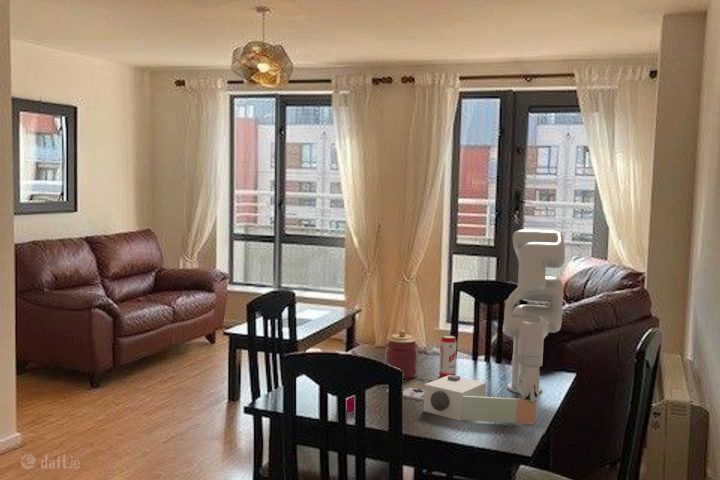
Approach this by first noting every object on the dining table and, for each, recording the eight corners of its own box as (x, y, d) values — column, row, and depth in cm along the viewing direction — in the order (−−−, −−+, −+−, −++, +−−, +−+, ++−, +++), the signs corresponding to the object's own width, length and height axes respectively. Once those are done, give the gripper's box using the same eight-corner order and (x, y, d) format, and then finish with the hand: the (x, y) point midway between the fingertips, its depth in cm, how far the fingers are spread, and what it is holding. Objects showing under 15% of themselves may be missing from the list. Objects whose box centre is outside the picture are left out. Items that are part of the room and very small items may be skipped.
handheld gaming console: (410, 386, 254) (448, 393, 246) (409, 390, 254) (448, 397, 247) (398, 393, 245) (437, 400, 238) (397, 397, 245) (437, 405, 238)
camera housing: (448, 400, 242) (449, 372, 241) (484, 409, 233) (486, 379, 233) (420, 412, 228) (422, 382, 227) (458, 422, 219) (459, 390, 219)
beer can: (457, 376, 273) (459, 336, 272) (451, 380, 268) (452, 339, 267) (443, 374, 276) (444, 334, 275) (436, 377, 271) (437, 336, 270)
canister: (412, 380, 265) (414, 335, 264) (380, 376, 269) (381, 331, 268) (420, 372, 277) (422, 328, 276) (389, 369, 282) (390, 325, 280)
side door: (534, 423, 219) (536, 399, 218) (535, 424, 218) (536, 400, 217) (462, 419, 220) (463, 395, 220) (462, 420, 219) (463, 396, 219)
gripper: (513, 353, 228) (510, 408, 229) (523, 365, 213) (520, 424, 215) (536, 354, 228) (533, 408, 229) (548, 366, 213) (545, 424, 215)
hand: (527, 416), depth 222 cm, fingers closed
